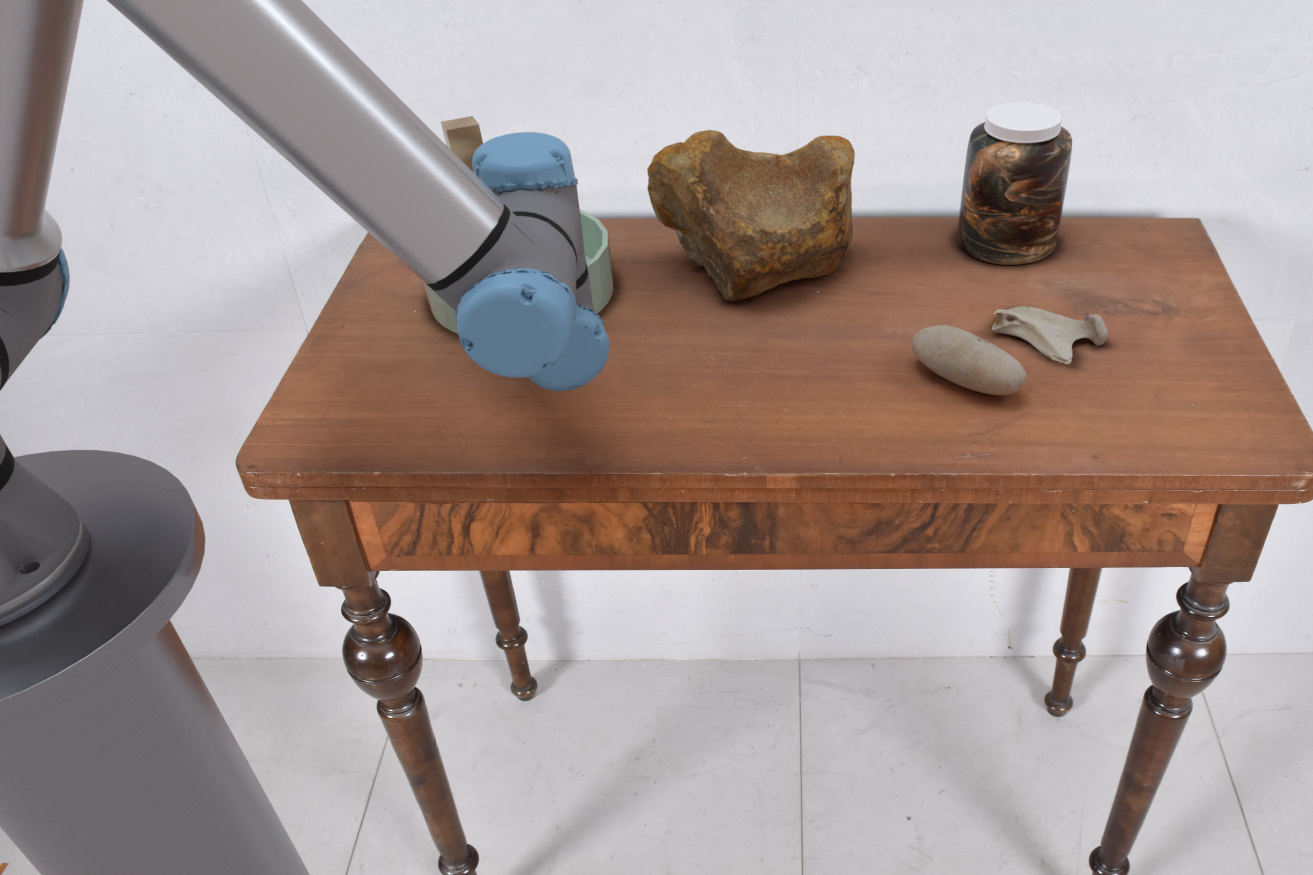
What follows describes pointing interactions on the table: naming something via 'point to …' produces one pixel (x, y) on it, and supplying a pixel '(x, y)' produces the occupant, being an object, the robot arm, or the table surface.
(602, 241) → the bowl
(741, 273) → the rough brown rock
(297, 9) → the robot arm
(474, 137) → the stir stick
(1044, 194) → the jar
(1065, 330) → the fossil
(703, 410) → the table surface
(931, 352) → the stone
